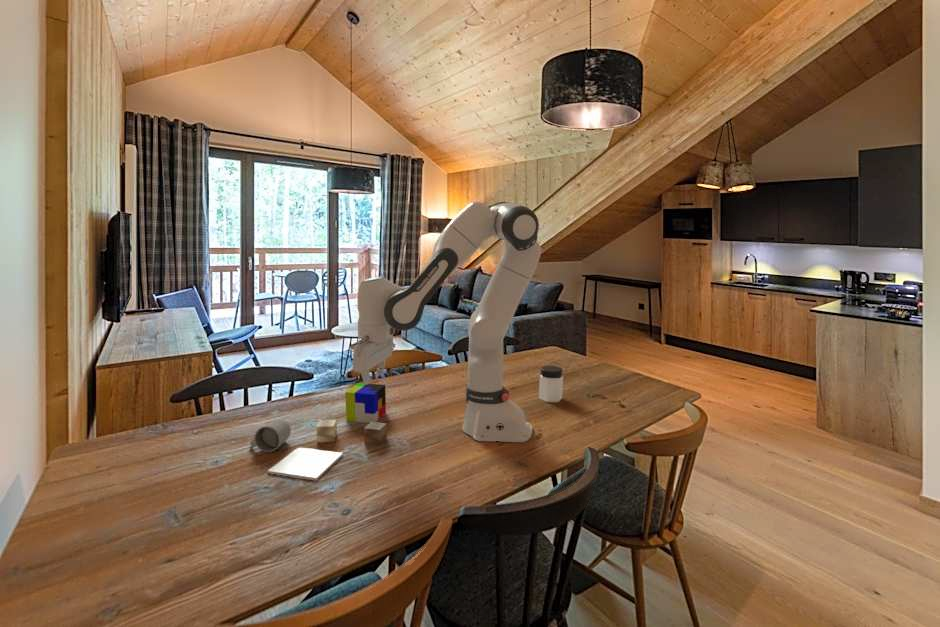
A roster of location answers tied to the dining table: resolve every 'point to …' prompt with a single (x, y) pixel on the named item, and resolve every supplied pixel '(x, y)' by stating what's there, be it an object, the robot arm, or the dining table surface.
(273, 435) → the ceramic mug
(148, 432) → the dining table surface
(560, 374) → the jar
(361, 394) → the puzzle toy
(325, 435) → the maple block
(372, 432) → the walnut block
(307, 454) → the white coaster
